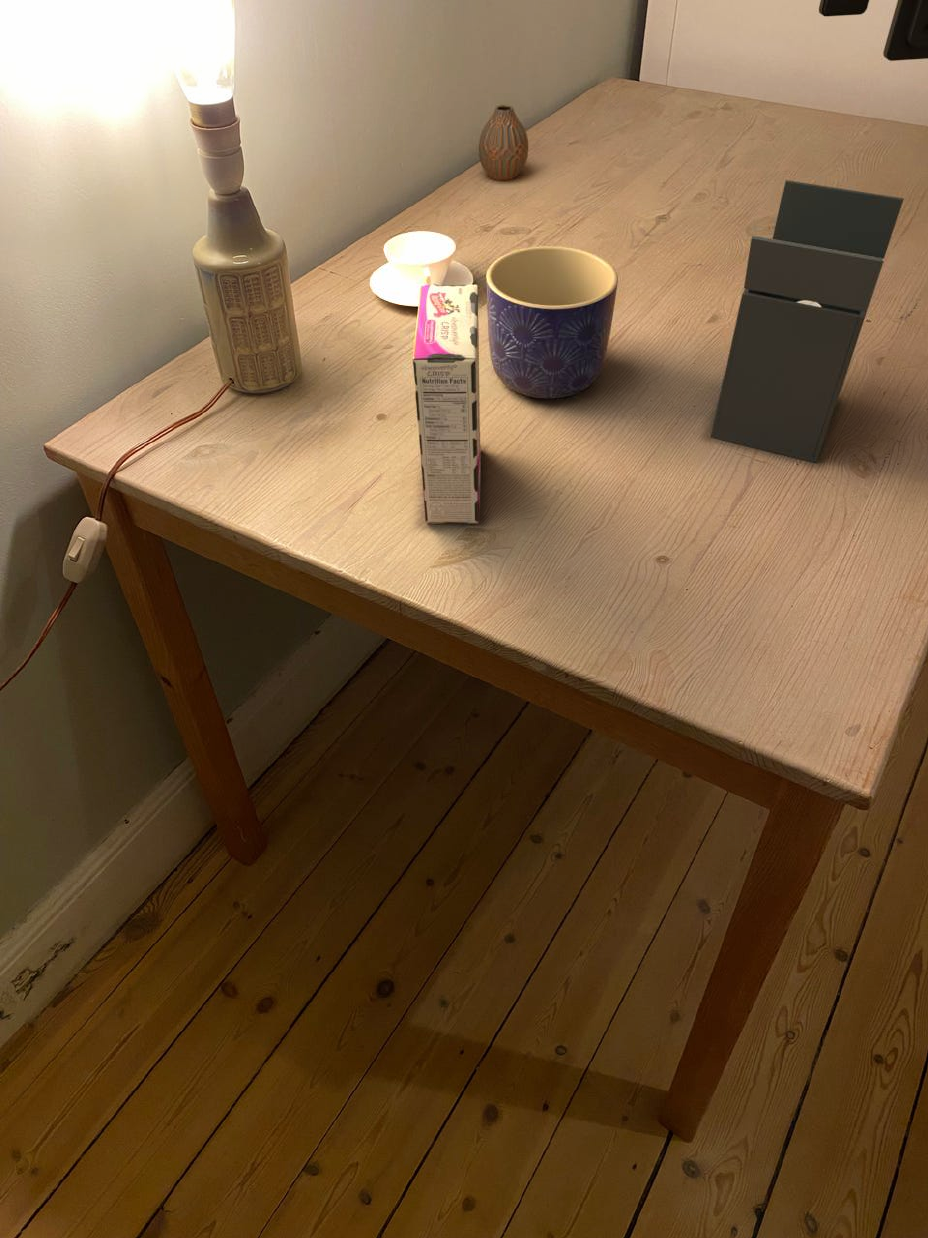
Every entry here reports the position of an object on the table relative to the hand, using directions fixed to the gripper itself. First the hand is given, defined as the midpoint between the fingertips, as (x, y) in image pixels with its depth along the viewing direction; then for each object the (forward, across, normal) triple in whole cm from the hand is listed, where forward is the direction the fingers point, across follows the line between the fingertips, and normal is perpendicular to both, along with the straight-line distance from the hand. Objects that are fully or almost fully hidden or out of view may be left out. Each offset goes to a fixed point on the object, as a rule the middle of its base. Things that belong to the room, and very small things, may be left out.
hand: (873, 34), depth 58 cm
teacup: (+34, +38, +27) cm, 58 cm away
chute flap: (+17, +1, -1) cm, 17 cm away
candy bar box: (+34, +1, +28) cm, 44 cm away
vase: (+34, +70, +12) cm, 79 cm away
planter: (+34, +18, +16) cm, 42 cm away
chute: (+34, +7, -4) cm, 35 cm away
